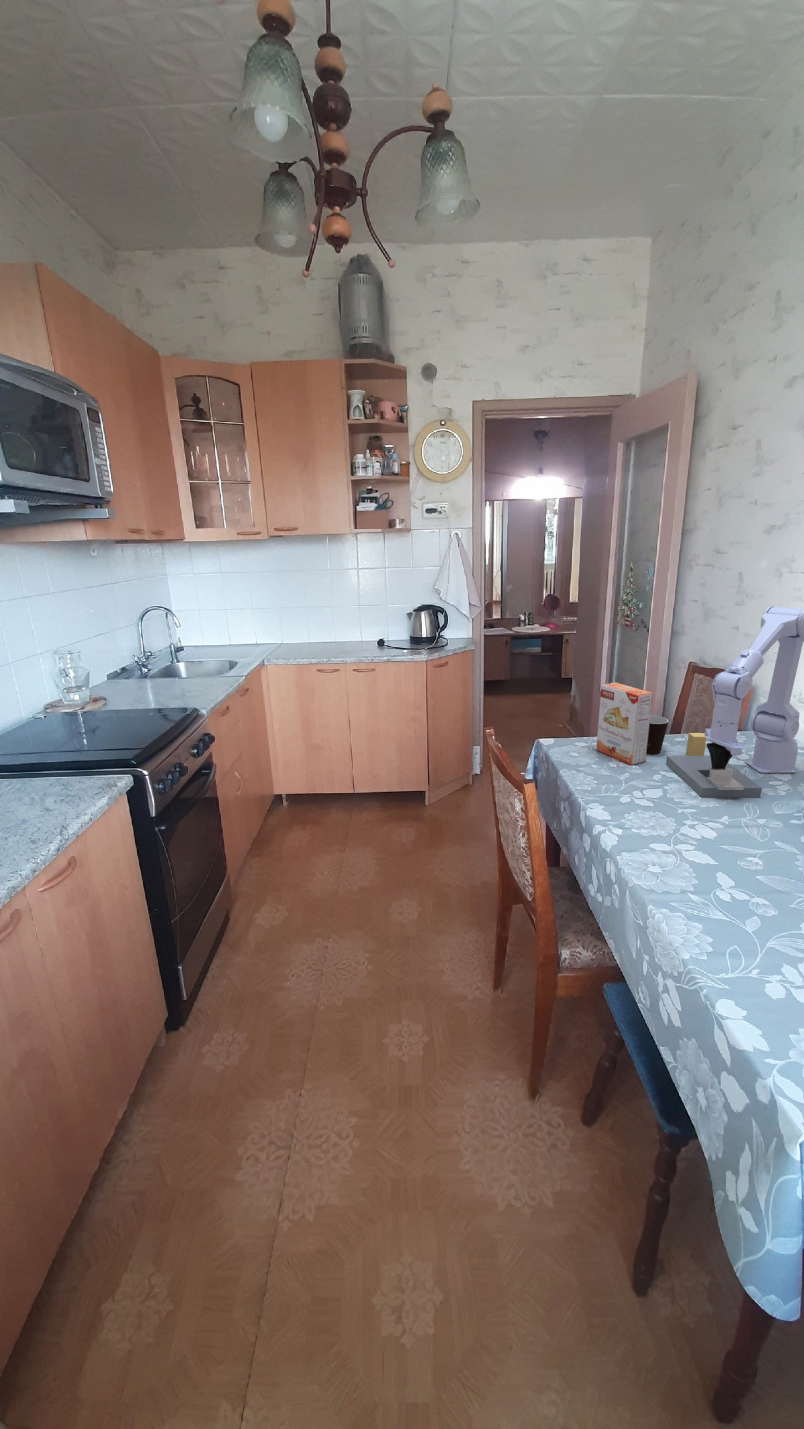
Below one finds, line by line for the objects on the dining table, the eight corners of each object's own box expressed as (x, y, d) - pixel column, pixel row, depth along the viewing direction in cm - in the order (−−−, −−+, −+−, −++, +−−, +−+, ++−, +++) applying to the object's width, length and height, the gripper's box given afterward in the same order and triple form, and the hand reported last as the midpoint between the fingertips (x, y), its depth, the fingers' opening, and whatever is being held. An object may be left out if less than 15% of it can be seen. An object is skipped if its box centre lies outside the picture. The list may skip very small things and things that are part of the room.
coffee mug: (669, 755, 166) (673, 723, 163) (640, 756, 166) (643, 724, 163) (653, 742, 177) (657, 712, 174) (625, 743, 178) (628, 712, 175)
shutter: (731, 779, 142) (733, 768, 142) (743, 789, 137) (745, 777, 136) (706, 779, 143) (708, 768, 142) (718, 789, 137) (720, 777, 136)
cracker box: (594, 750, 172) (600, 683, 166) (609, 747, 174) (615, 681, 168) (630, 766, 159) (637, 694, 153) (646, 762, 162) (654, 691, 156)
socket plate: (716, 763, 160) (718, 755, 159) (760, 797, 139) (761, 787, 138) (666, 763, 160) (667, 755, 160) (701, 797, 139) (702, 787, 139)
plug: (697, 755, 166) (701, 732, 164) (703, 759, 163) (706, 736, 161) (685, 755, 166) (688, 732, 164) (690, 759, 163) (693, 736, 161)
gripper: (695, 712, 146) (689, 761, 150) (723, 730, 132) (715, 783, 136) (723, 712, 146) (716, 761, 150) (754, 730, 132) (745, 783, 136)
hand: (717, 772), depth 143 cm, fingers closed
